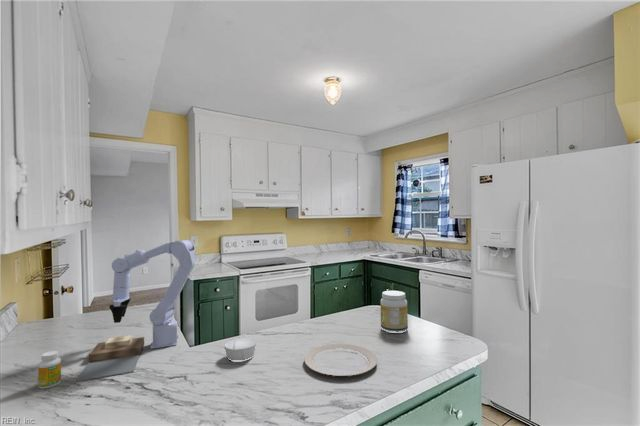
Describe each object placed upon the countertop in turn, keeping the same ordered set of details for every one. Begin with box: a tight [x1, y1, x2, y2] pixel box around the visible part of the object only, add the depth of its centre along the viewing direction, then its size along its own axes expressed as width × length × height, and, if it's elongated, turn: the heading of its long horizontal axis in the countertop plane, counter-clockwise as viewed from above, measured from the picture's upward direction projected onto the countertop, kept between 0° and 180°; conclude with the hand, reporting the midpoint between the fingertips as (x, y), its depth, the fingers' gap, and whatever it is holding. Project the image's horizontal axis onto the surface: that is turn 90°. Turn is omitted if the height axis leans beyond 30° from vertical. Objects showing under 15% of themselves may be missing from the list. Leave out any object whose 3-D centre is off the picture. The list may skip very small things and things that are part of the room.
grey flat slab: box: [75, 354, 141, 383], centre depth 109 cm, size 16×14×1 cm
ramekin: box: [224, 337, 257, 360], centre depth 117 cm, size 11×11×5 cm
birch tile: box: [105, 334, 133, 349], centre depth 123 cm, size 8×6×2 cm
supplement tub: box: [379, 290, 409, 332], centre depth 144 cm, size 12×12×17 cm
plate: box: [304, 343, 378, 377], centre depth 111 cm, size 26×26×2 cm
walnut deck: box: [88, 336, 145, 363], centre depth 122 cm, size 16×12×3 cm
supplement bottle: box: [37, 350, 62, 389], centre depth 99 cm, size 5×5×10 cm
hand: (119, 319), depth 130 cm, fingers open, 7 cm apart
